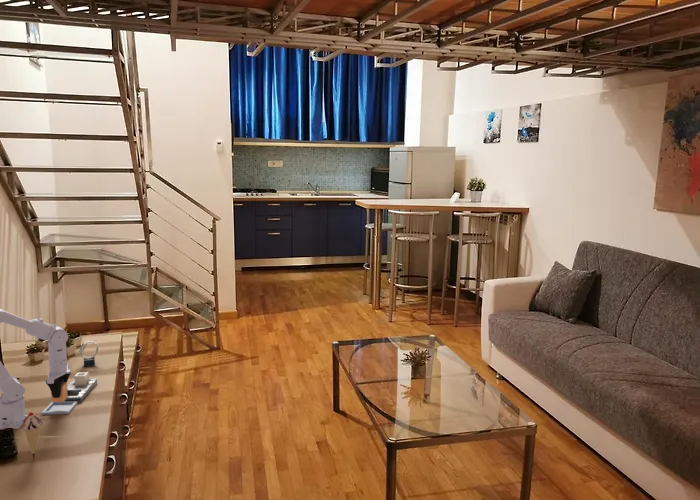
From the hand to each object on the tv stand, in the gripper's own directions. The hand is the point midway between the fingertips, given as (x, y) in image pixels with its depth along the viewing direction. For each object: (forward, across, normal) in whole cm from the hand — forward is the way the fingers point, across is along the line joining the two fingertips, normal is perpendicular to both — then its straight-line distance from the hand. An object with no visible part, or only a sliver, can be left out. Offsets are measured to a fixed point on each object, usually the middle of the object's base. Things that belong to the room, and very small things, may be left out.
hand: (59, 394), depth 192 cm
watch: (+6, +45, +5) cm, 46 cm away
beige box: (+6, +19, -1) cm, 20 cm away
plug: (+2, 0, 0) cm, 2 cm away
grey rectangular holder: (+6, +14, -1) cm, 15 cm away
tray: (+6, 0, 0) cm, 6 cm away
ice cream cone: (+6, -33, -5) cm, 34 cm away
